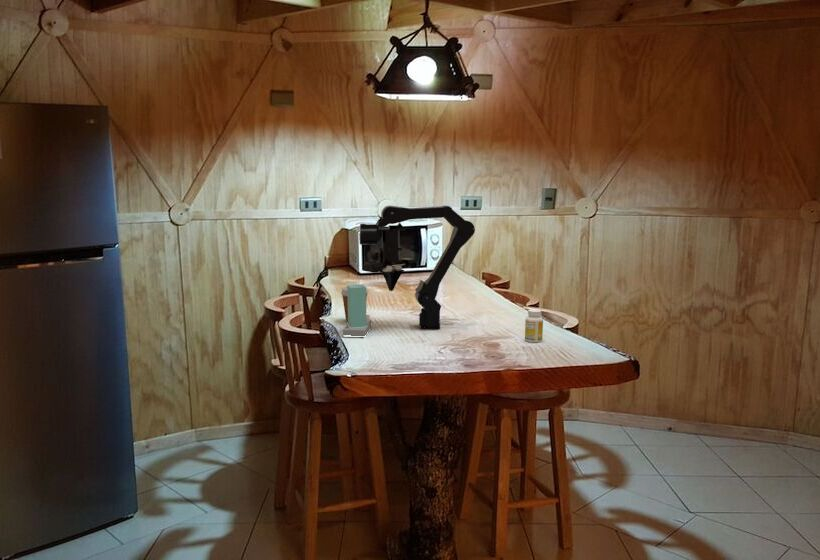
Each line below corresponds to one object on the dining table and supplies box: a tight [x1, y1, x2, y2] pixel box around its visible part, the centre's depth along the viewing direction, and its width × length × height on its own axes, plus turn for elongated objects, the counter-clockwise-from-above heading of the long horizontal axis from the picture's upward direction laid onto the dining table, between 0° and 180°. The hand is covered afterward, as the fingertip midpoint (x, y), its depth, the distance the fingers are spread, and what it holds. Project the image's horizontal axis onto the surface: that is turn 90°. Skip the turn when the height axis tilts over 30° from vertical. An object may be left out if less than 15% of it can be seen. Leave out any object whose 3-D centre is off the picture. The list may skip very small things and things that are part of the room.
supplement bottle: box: [524, 308, 544, 343], centre depth 193 cm, size 5×5×10 cm
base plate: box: [342, 314, 372, 336], centre depth 205 cm, size 8×14×4 cm, turn 175°
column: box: [346, 284, 367, 328], centre depth 202 cm, size 5×5×13 cm
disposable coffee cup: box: [340, 286, 369, 323], centre depth 219 cm, size 10×10×12 cm
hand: (391, 290), depth 208 cm, fingers closed
